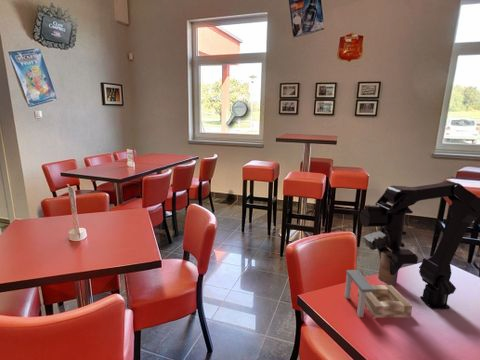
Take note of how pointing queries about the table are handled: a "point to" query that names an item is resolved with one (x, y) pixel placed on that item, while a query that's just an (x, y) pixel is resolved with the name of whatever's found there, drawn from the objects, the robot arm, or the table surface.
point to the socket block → (387, 302)
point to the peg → (385, 268)
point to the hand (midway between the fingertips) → (387, 270)
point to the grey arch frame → (361, 284)
